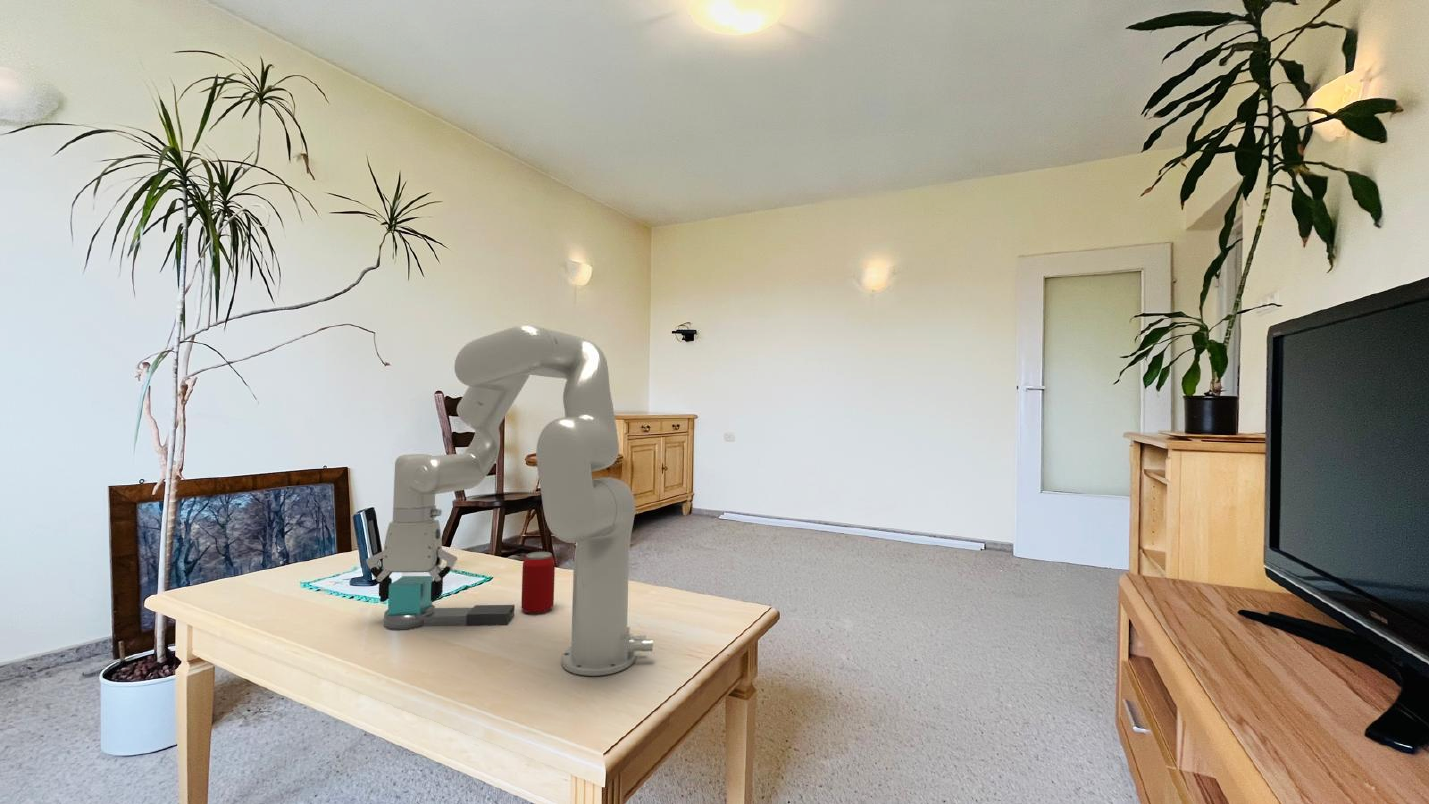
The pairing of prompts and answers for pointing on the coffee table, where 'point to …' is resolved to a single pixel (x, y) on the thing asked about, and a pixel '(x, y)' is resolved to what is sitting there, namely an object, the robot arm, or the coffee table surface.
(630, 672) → the coffee table surface
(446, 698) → the coffee table surface
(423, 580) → the teal cube
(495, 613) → the ratchet
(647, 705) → the coffee table surface
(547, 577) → the beverage can
